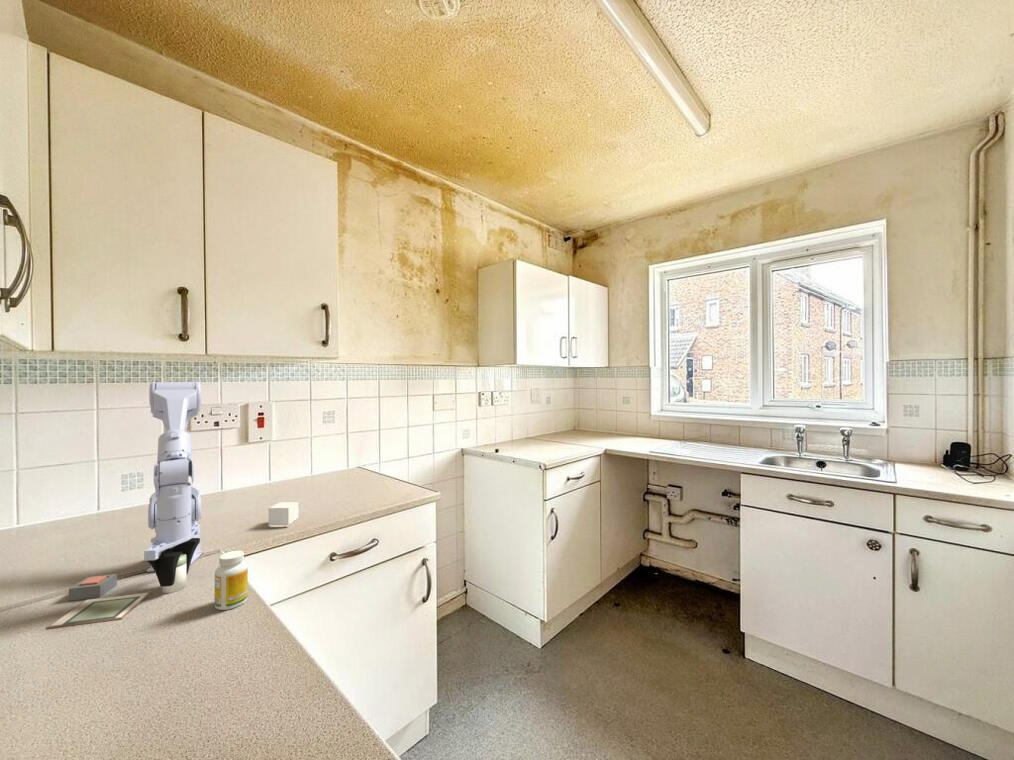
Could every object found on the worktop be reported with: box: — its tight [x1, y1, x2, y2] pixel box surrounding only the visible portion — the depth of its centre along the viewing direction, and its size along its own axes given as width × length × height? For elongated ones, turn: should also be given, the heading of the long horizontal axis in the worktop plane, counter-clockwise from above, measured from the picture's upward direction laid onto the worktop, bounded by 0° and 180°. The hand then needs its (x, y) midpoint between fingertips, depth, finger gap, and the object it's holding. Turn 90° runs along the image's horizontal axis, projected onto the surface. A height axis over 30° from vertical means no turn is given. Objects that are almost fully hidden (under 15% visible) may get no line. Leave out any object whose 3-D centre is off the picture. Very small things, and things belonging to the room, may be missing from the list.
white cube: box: [268, 501, 300, 526], centre depth 125 cm, size 6×6×6 cm
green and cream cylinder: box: [161, 554, 187, 594], centre depth 86 cm, size 4×4×6 cm
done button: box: [80, 575, 107, 586], centre depth 84 cm, size 3×3×1 cm
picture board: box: [45, 591, 153, 630], centre depth 78 cm, size 10×11×1 cm
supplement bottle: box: [214, 550, 249, 611], centre depth 80 cm, size 5×5×10 cm
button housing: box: [68, 573, 118, 602], centre depth 84 cm, size 5×5×2 cm
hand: (174, 580), depth 86 cm, fingers closed on green and cream cylinder, 4 cm apart
